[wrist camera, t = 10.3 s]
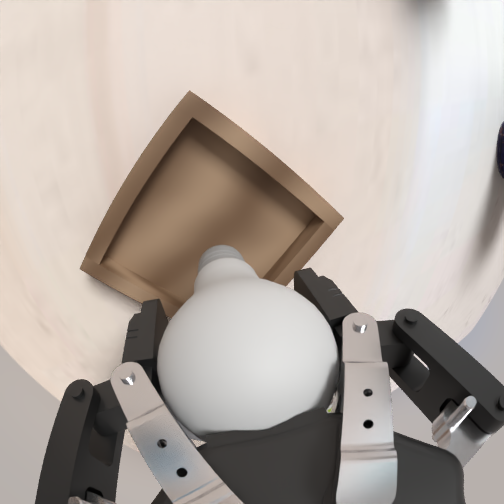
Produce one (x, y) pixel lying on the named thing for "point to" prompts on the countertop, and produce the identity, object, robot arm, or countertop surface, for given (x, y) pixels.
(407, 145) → the countertop surface
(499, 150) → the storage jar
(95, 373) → the countertop surface
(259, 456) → the robot arm
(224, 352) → the lightbulb
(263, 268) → the tray
